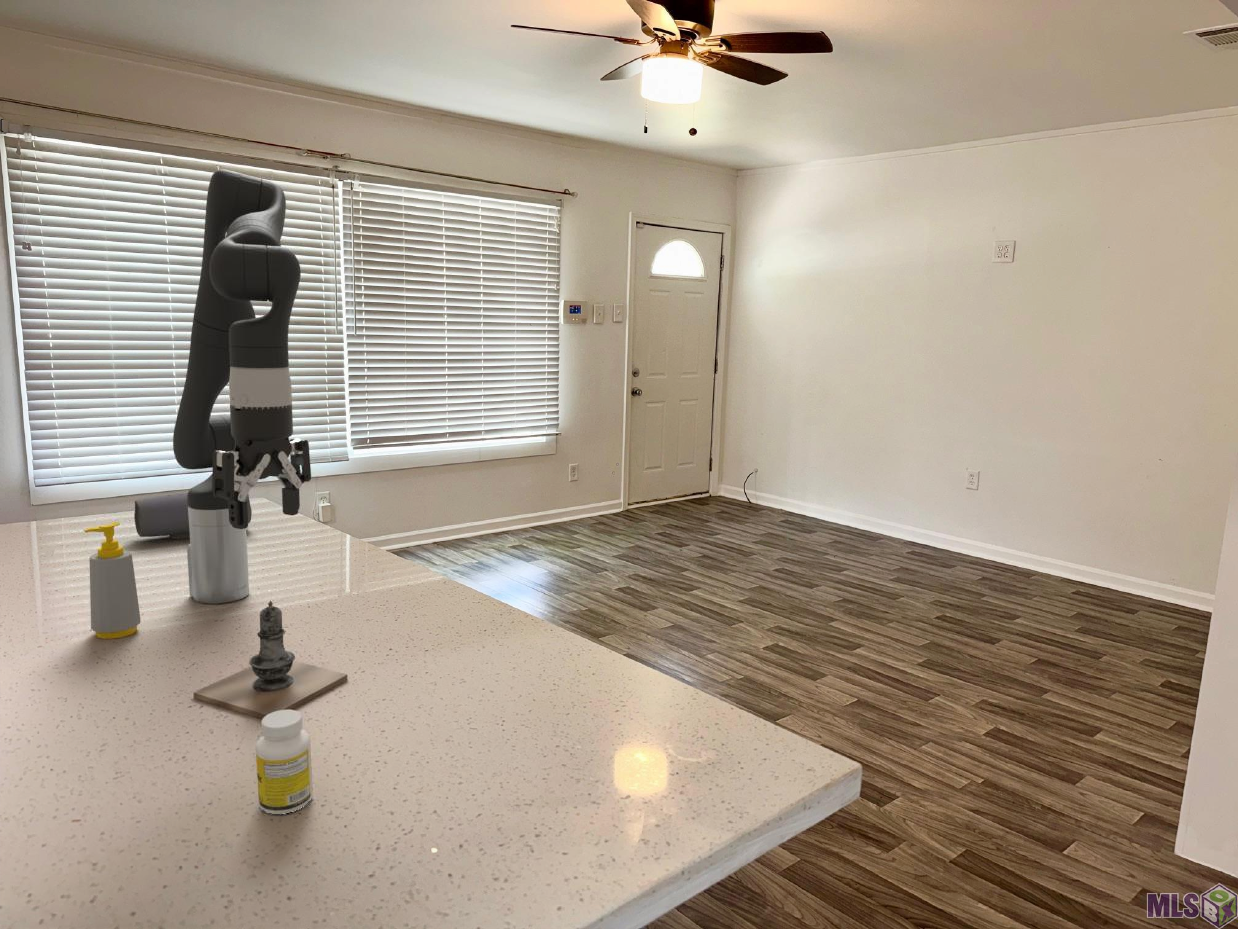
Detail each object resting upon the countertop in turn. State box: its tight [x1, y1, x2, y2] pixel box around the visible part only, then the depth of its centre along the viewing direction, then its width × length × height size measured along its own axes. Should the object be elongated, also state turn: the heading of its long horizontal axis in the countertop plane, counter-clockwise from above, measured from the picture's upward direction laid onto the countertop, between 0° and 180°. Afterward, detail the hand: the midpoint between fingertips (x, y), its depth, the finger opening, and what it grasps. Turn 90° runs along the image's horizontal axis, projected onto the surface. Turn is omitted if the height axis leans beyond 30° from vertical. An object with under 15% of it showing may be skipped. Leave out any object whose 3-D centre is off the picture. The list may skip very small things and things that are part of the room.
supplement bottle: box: [255, 709, 314, 815], centre depth 87 cm, size 5×5×10 cm
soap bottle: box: [84, 521, 142, 640], centre depth 129 cm, size 7×7×18 cm
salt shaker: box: [248, 600, 296, 691], centre depth 113 cm, size 6×6×12 cm
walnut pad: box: [193, 659, 349, 720], centre depth 114 cm, size 14×14×1 cm
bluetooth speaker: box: [133, 492, 253, 540], centre depth 187 cm, size 23×9×10 cm, turn 130°
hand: (266, 521), depth 110 cm, fingers open, 8 cm apart
